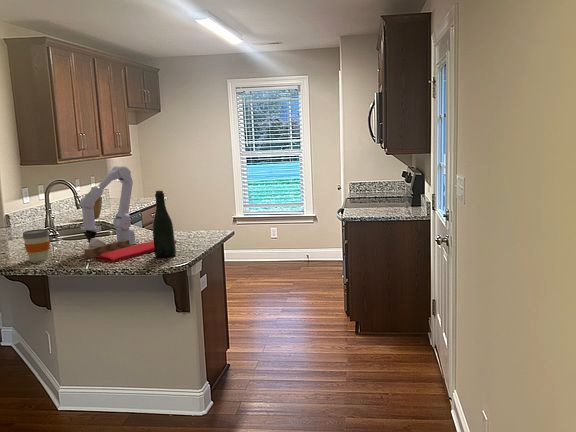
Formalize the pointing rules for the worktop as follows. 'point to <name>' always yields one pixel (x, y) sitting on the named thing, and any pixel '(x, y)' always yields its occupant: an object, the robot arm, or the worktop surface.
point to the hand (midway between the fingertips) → (91, 244)
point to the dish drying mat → (127, 252)
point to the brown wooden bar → (105, 248)
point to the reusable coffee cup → (37, 244)
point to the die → (96, 242)
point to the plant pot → (97, 207)
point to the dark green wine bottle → (163, 229)
